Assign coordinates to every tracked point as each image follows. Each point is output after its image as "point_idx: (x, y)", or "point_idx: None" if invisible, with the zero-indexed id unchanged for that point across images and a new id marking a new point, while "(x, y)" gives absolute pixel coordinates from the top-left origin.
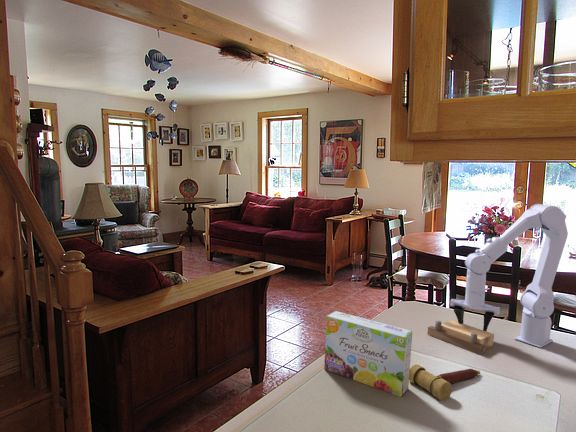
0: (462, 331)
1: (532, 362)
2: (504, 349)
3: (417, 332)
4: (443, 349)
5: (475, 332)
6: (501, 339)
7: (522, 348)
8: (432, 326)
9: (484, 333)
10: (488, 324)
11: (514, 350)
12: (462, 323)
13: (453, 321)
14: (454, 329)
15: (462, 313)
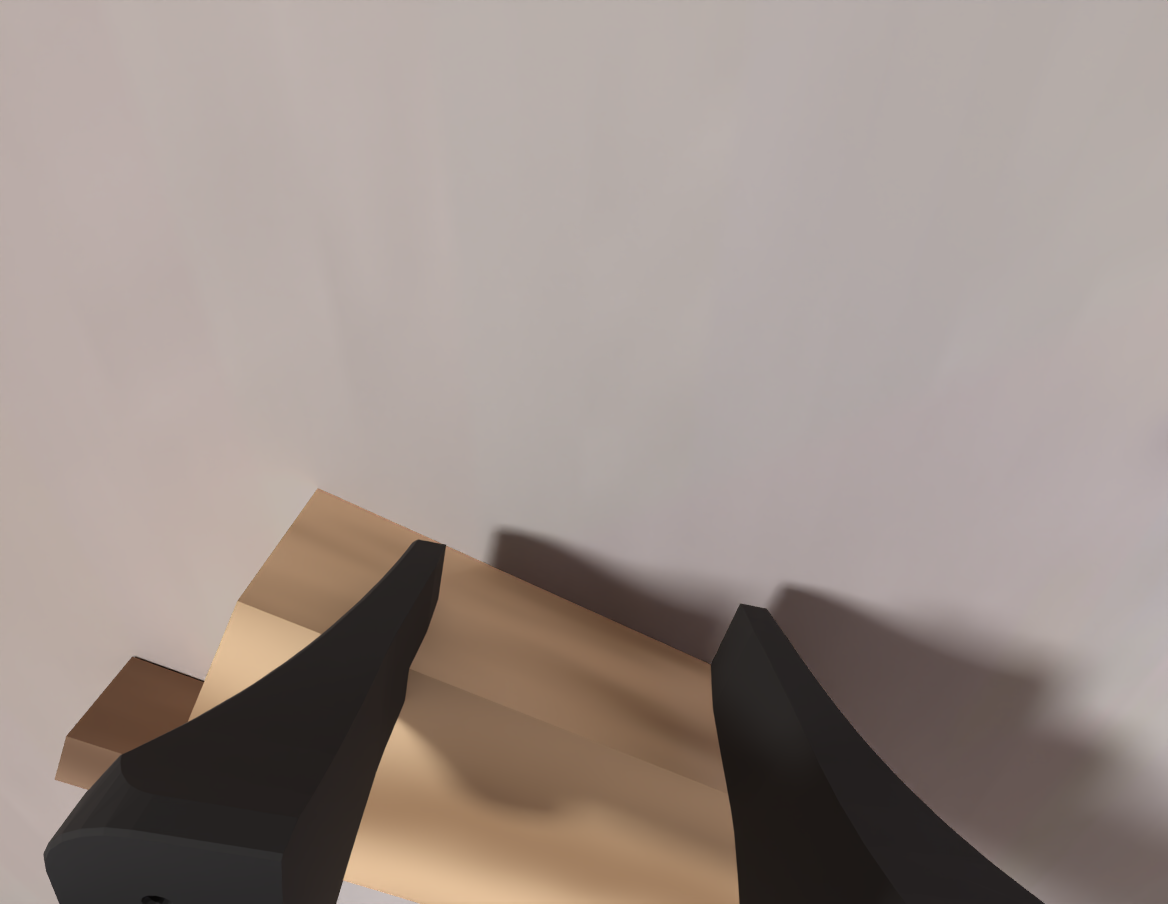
0: (456, 885)
1: (1039, 856)
2: (887, 734)
3: (10, 691)
4: (362, 886)
5: (604, 864)
6: (966, 496)
7: (1117, 650)
8: (87, 750)
9: (711, 857)
10: (833, 719)
11: (989, 721)
12: (417, 672)
13: (269, 653)
14: (360, 872)
15: (342, 829)
